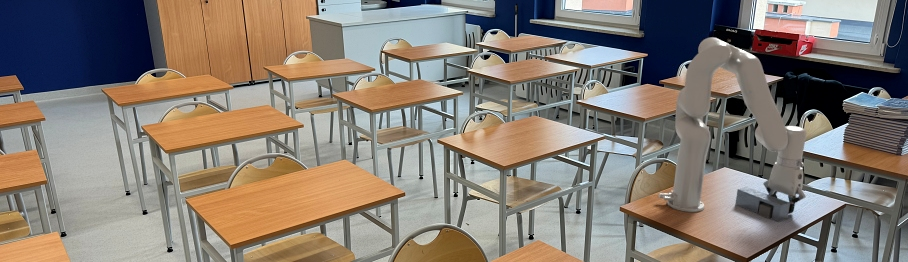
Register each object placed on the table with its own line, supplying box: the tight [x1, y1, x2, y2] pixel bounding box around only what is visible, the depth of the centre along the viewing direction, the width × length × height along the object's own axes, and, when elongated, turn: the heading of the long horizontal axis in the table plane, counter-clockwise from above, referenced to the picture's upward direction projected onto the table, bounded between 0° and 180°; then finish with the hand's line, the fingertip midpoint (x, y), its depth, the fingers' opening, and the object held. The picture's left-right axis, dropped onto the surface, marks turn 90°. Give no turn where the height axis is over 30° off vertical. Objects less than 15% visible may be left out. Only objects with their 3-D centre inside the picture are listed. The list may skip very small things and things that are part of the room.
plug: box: [757, 197, 788, 220], centre depth 227 cm, size 11×4×4 cm, turn 122°
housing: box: [734, 186, 790, 223], centre depth 228 cm, size 5×17×6 cm, turn 30°
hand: (780, 209), depth 229 cm, fingers open, 5 cm apart
